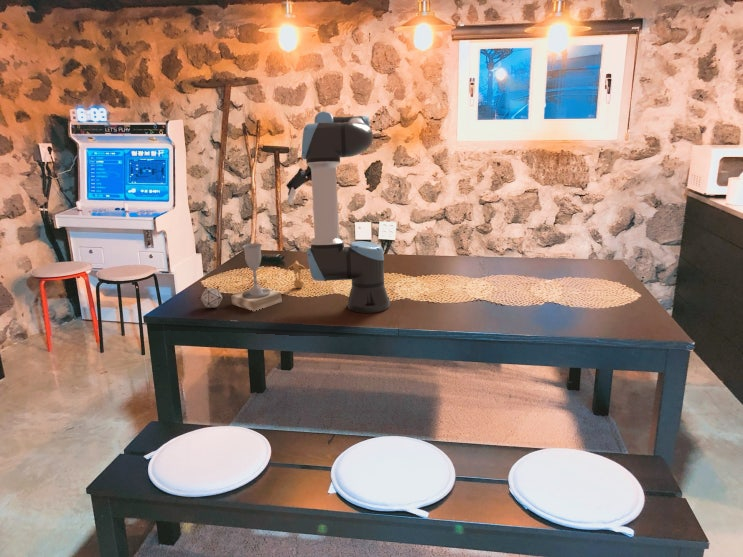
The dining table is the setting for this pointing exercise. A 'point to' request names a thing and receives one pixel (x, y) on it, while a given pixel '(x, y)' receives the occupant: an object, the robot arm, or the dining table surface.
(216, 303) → the game die
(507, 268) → the dining table surface
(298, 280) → the figurine
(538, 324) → the dining table surface
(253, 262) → the chalice
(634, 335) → the dining table surface
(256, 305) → the pedestal
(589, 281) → the dining table surface
